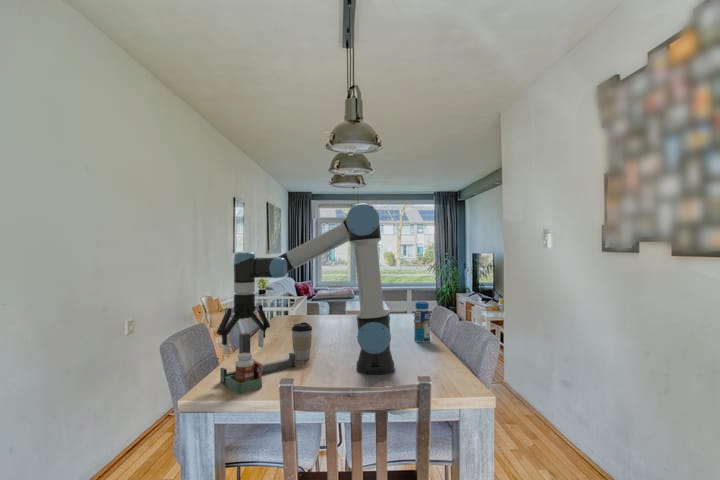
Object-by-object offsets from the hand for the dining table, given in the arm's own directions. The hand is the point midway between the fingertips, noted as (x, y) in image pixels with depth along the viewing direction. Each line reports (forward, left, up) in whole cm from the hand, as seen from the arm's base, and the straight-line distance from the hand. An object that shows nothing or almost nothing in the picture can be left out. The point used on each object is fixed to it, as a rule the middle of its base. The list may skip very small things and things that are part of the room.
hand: (244, 350), depth 146 cm
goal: (-8, +4, -10) cm, 14 cm away
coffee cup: (+7, -31, -10) cm, 33 cm away
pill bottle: (-8, +4, -10) cm, 14 cm away
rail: (0, -7, -10) cm, 12 cm away
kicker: (-5, 0, -10) cm, 11 cm away
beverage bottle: (-10, -94, -10) cm, 95 cm away
